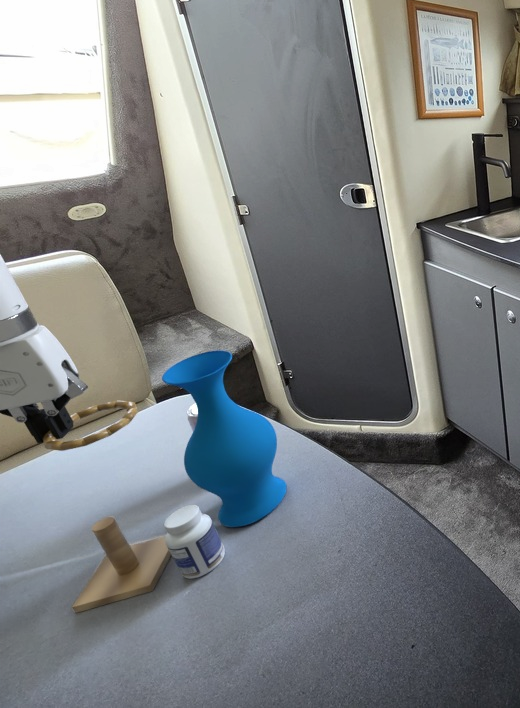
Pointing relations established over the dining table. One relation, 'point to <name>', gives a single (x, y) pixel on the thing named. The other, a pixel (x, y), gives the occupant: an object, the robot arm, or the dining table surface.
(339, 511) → the dining table surface
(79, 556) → the dining table surface
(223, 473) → the vase
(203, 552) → the pill bottle
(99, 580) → the wooden base with post
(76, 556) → the dining table surface
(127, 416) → the ring
